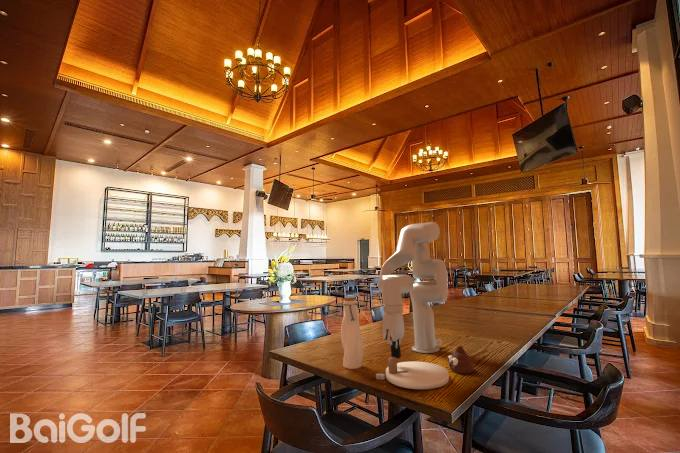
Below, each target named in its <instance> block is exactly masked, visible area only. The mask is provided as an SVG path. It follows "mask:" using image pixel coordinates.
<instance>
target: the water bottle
mask: <svg viewBox="0 0 680 453" xmlns="http://www.w3.org/2000/svg"><path fill="white" fill-rule="evenodd" d="M341 305H342V306H343V318H342V321H341V326H340V340H341V345H342V346H341V347H342V349H343V351H344V353H343V360H342V362H343V363H342V367H343V368H345V369H348V370H350V369H351V370H353V369H355V370H356V369H360V368H361V367H362V365H363V363H362V360H363V356H364V342H363V336H362V331H361V330H362V329H361V328H360V322H359V321H360V320H359V319H360V318H359V311H358V305H360V304H359V302H358V301H357V298H356V296H353V295H352V296H344V299H343V302H342V304H341Z"/></svg>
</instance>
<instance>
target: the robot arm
mask: <svg viewBox="0 0 680 453" xmlns="http://www.w3.org/2000/svg"><path fill="white" fill-rule="evenodd" d="M440 233H441V230H440V226H439V224H438V223H437V222H435V221H429V222H419V223H411V224H408V225H405V226H404V227H403V228H401V229H400V232H399V237H398V240H397V244H396V248H395V252H394V253H393V254H392V255H390V257H389V258H388V259H387V260H385V262H384V263H383V265H381V268H380V272H379V276H378V282H377V283H378V289H379V290H380V292H381V295H382V297H381V299H382V309H383V315H382V339H383V340H384V341H387V342H386V343H387V345H389V347H390V355H391V356H390V357H396V358H397V360H398V359H400V358H401V357H402V355H401V354H402V353H401V345H402V344H401V341H402V339H403V337H404V336H405V322H404V315H403V314H404V310H403V308H404V307H403V294H408V293H409V296H410V300H411V306H412V319H413V334H414V335H413V336H414V345H412V346H411V350H412V351H413V352H415V353H421V354H433V353H437V352H439V351H440V347H439V346H438V344H441V343H442V342H443V340H442V338H436V332H435V331H436V330H435V319H434V318H435V317H434V316H435V315H434V311H433V309H432V307H431V305H430V304H429V303H434V304H435V303H436V304H437V303H438V304H441V303H445V302H446V301H447V299H448V274H447V272H448V271H447V266H446V265H447V264H446V263H445V261H444V260H442V259H439V258H435V259H431V256H430V255H431V253H430V251H431V250H430V248H429V246H428V245H427V244H430V243H433V242H435V241H436V240H438V238H439V236H440V235H441V234H440ZM410 262H411V264H412V265H411V266H412V275H413V277H414V278H415V279H416V280H417V279H418V280H435V281H417V282H414V279H413V278H412V277H411V276H410V275H409V274H404V273H403V274H401V273H400V274H396V273H393V272H394V271H395V270H397V269H398V268H400V267H402V266H404V265H407V264H409V263H410Z"/></svg>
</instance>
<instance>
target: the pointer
mask: <svg viewBox="0 0 680 453" xmlns="http://www.w3.org/2000/svg"><path fill="white" fill-rule="evenodd" d="M375 377H376V378H375V380H385V379H386V374H385V373H375Z"/></svg>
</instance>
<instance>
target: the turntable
mask: <svg viewBox="0 0 680 453" xmlns="http://www.w3.org/2000/svg"><path fill="white" fill-rule="evenodd" d="M387 360H388V366H387V367H386V368H385V379H386V381H388V382H389V383H390V384H393V386H397V387H400V388H405V389H412V390H432V389H438V388H441V387H444V386H445V385H447V384H448V383H449V382H450V381H449V380H450V375H449V371H448V370H447V368H445V367H444V366H442V365H439V364H436V363H431V362H425V361H413V360H412V361H401V362H398V359H397V358H396V357H391V356H389V357H387Z"/></svg>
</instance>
